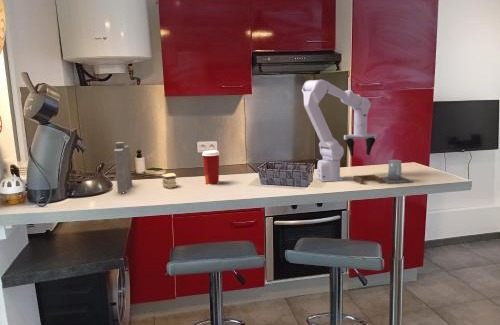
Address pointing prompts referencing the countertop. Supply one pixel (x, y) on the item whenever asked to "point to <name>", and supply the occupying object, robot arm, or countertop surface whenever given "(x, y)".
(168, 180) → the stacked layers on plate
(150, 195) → the countertop surface
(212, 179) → the paper cup
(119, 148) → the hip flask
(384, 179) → the rubber mat
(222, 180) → the countertop surface
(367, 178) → the jug holder
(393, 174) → the jug
